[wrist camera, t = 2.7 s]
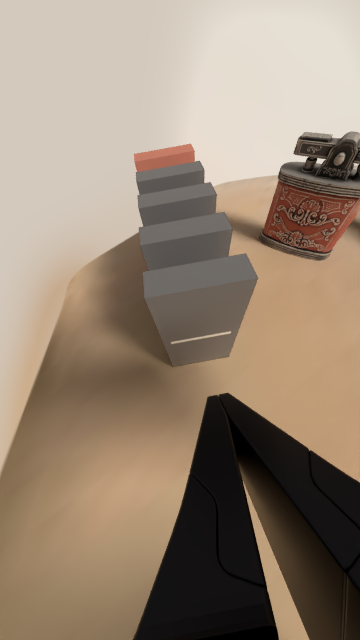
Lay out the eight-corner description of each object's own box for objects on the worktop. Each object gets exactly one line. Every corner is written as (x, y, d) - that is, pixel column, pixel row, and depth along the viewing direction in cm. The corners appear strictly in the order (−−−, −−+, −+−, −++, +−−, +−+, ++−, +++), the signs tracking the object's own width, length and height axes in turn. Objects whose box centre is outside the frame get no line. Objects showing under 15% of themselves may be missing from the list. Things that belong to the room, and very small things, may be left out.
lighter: (332, 247, 22) (415, 132, 14) (324, 265, 21) (409, 150, 12) (265, 228, 25) (299, 122, 17) (254, 242, 24) (285, 137, 15)
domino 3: (209, 293, 20) (216, 194, 12) (164, 301, 20) (138, 208, 12) (206, 282, 21) (210, 182, 13) (162, 290, 21) (137, 195, 13)
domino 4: (217, 322, 19) (232, 228, 10) (167, 331, 19) (140, 245, 10) (213, 308, 19) (224, 211, 11) (165, 317, 19) (138, 227, 11)
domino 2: (202, 270, 22) (204, 169, 14) (161, 278, 22) (136, 182, 14) (200, 261, 23) (199, 160, 15) (159, 268, 23) (135, 172, 15)
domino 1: (196, 250, 24) (194, 150, 16) (157, 257, 24) (134, 161, 16) (194, 242, 25) (190, 143, 16) (156, 249, 25) (134, 154, 16)
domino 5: (228, 356, 17) (258, 277, 8) (173, 366, 17) (144, 298, 8) (223, 340, 18) (245, 253, 9) (170, 350, 18) (142, 271, 9)
